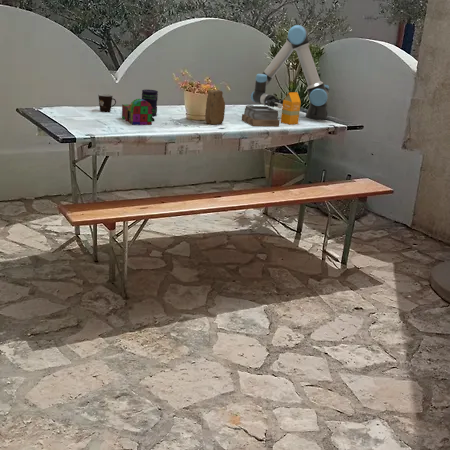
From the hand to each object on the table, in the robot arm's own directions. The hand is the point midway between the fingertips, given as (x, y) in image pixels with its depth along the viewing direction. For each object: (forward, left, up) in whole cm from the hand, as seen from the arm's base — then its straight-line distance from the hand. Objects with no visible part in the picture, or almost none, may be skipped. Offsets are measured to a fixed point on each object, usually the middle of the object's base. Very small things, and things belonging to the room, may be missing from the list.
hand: (289, 106), depth 386 cm
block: (+5, -53, -11) cm, 55 cm away
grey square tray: (+3, -21, -11) cm, 24 cm away
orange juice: (+1, +1, -11) cm, 11 cm away
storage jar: (-18, -88, -11) cm, 91 cm away
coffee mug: (-26, -113, -11) cm, 117 cm away
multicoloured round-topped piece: (-1, -99, -11) cm, 99 cm away
